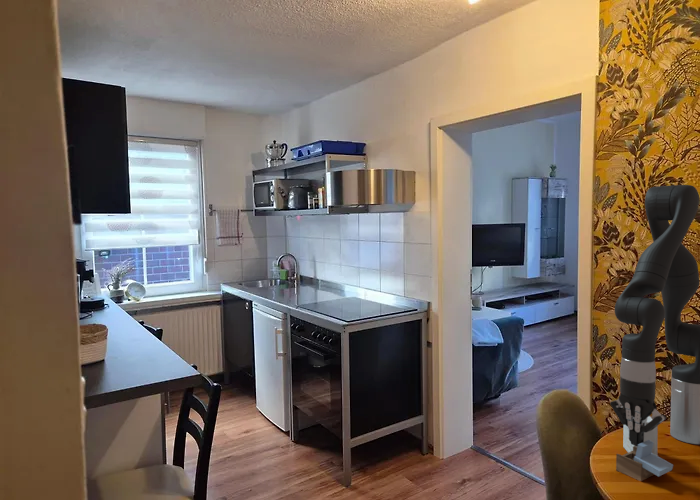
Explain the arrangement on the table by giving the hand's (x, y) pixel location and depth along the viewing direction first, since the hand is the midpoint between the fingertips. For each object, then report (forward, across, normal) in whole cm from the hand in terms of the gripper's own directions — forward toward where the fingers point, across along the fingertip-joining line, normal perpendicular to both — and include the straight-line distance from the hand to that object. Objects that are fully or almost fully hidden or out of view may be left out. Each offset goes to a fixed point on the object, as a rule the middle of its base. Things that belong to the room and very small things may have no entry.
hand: (636, 444), depth 117 cm
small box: (+7, +4, -10) cm, 13 cm away
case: (+7, 0, 0) cm, 7 cm away
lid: (+4, -4, 0) cm, 5 cm away
